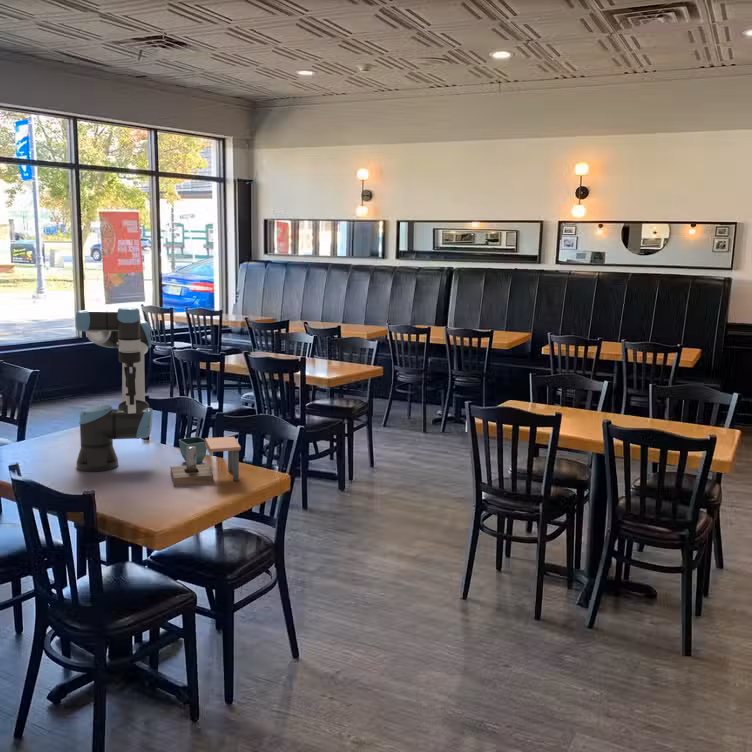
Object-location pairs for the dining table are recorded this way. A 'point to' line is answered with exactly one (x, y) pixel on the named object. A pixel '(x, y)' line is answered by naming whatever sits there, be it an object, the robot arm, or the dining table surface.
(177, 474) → the socket block
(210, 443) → the awning
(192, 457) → the peg
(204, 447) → the flower pot
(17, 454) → the dining table surface
